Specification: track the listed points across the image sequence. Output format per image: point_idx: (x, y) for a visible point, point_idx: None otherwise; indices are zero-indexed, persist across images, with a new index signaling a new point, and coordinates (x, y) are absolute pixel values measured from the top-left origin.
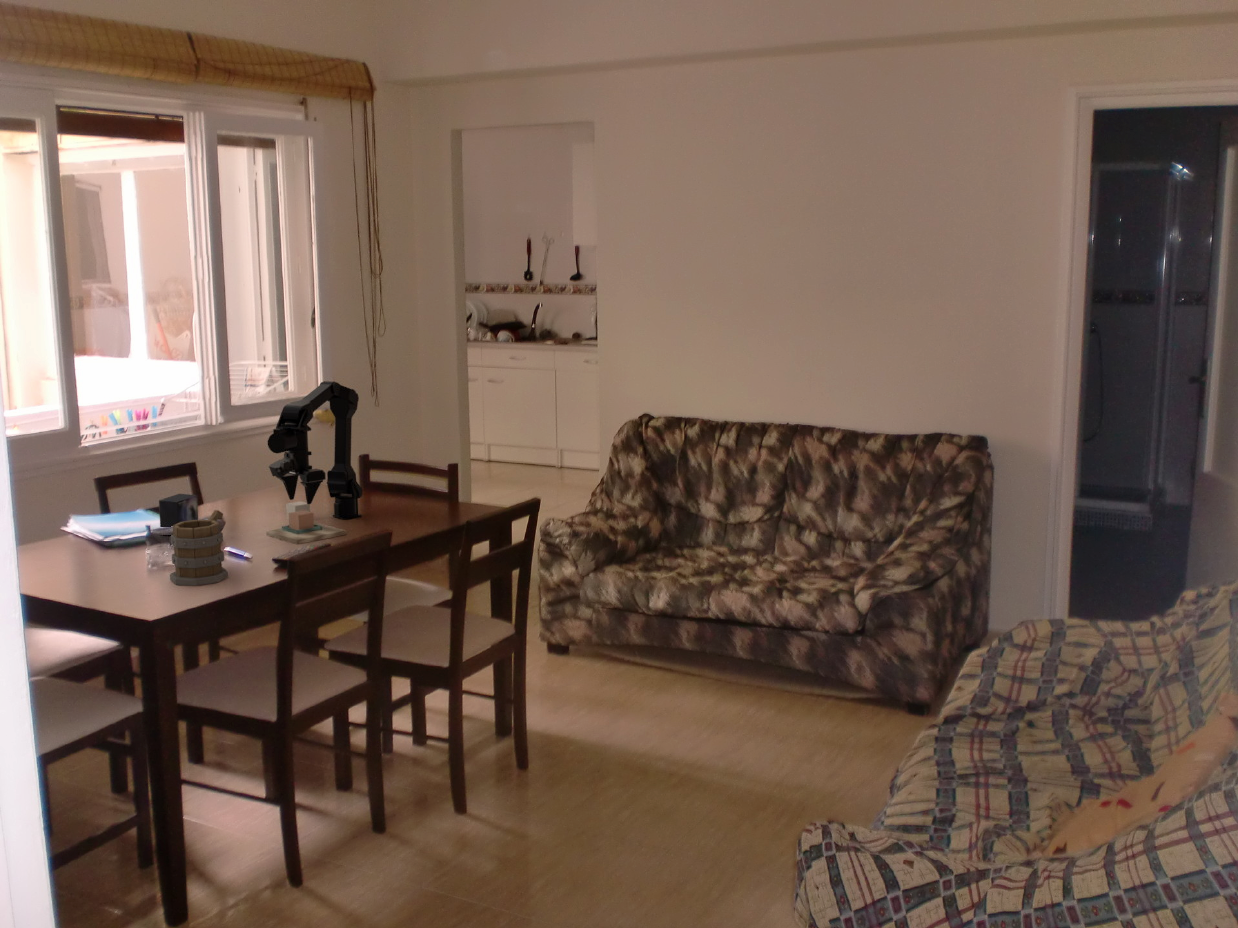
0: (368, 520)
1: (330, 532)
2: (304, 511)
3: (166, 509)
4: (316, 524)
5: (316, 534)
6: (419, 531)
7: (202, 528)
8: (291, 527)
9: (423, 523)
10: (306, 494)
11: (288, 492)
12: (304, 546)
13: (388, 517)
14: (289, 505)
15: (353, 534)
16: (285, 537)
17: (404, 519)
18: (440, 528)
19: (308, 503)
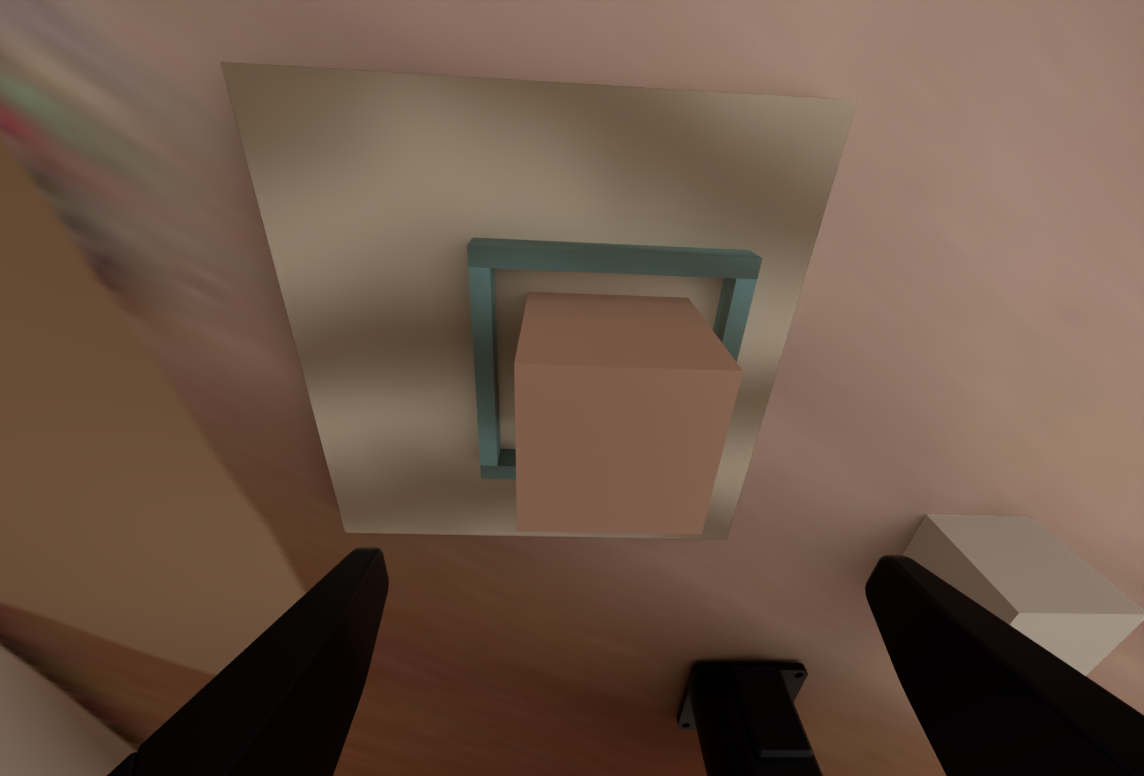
0: (583, 702)
1: (349, 446)
2: (649, 512)
3: None
4: None
5: (351, 345)
6: None
7: None
8: (658, 305)
9: (348, 771)
10: (216, 722)
11: (1011, 665)
12: (104, 62)
13: (563, 755)
14: (1095, 606)
15: (329, 536)
16: (461, 77)
17: (476, 767)
18: None
19: (350, 559)
